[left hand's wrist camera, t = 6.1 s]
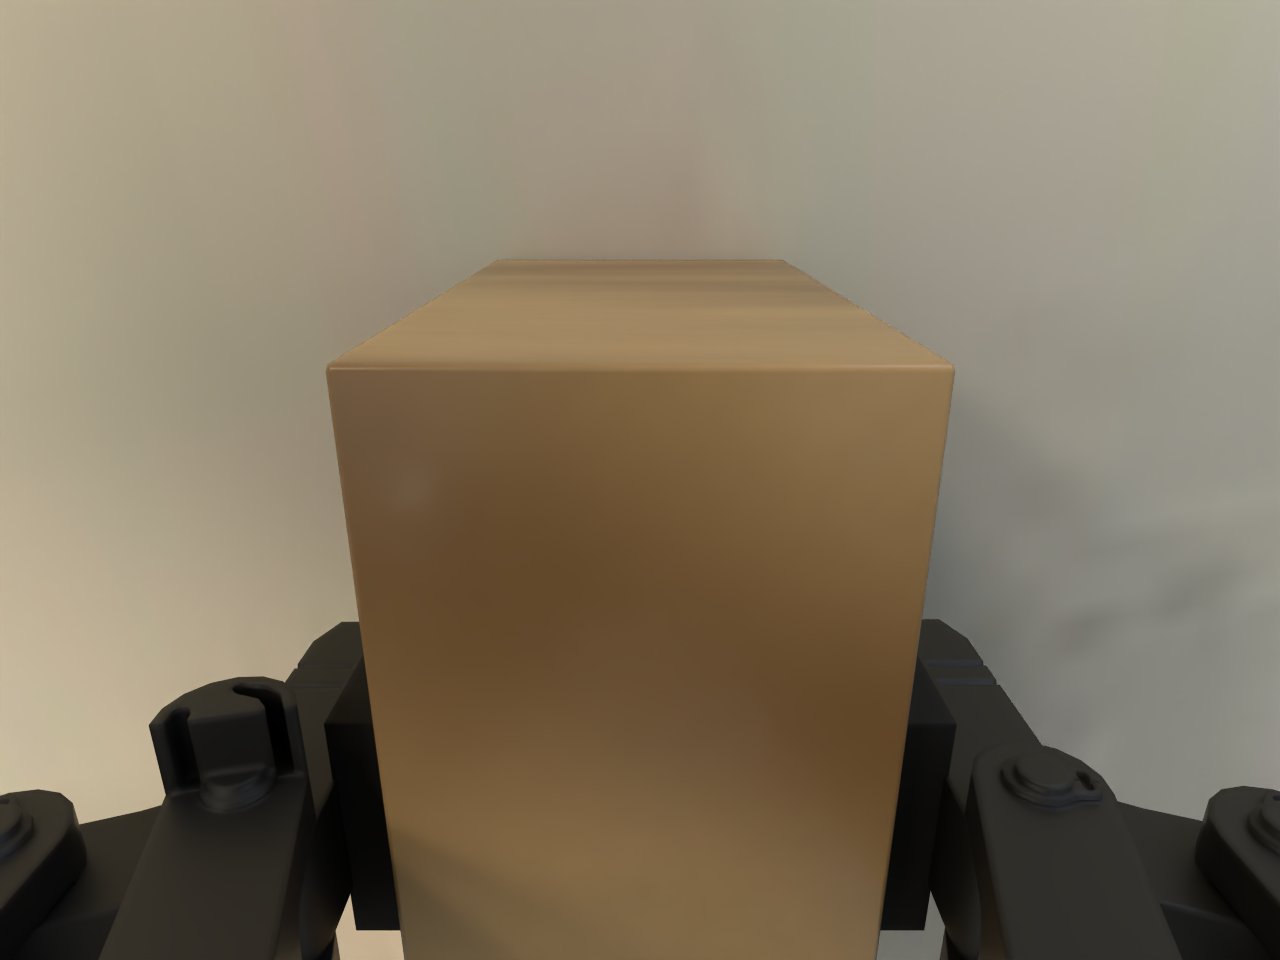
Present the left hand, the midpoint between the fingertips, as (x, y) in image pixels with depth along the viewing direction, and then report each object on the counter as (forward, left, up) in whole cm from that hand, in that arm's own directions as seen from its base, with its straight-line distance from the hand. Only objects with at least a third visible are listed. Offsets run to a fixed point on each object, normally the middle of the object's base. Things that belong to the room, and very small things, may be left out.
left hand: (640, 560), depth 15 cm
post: (+14, -15, -1) cm, 20 cm away
